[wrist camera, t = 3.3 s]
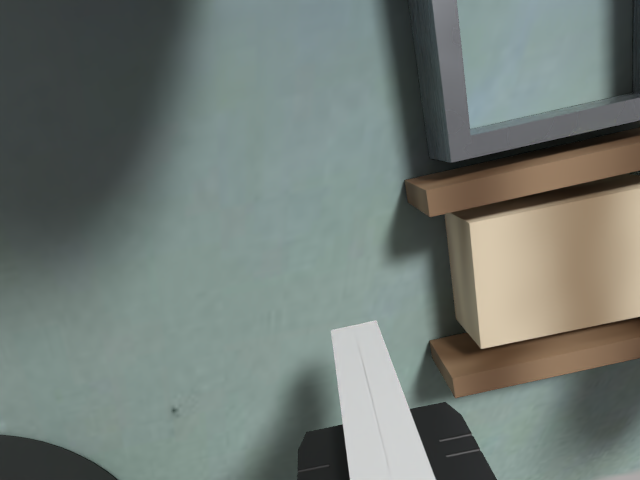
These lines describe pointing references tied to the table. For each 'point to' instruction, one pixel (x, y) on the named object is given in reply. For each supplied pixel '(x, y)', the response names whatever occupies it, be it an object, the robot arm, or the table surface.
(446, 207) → the beam
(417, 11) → the frame
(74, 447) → the table surface
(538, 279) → the block
